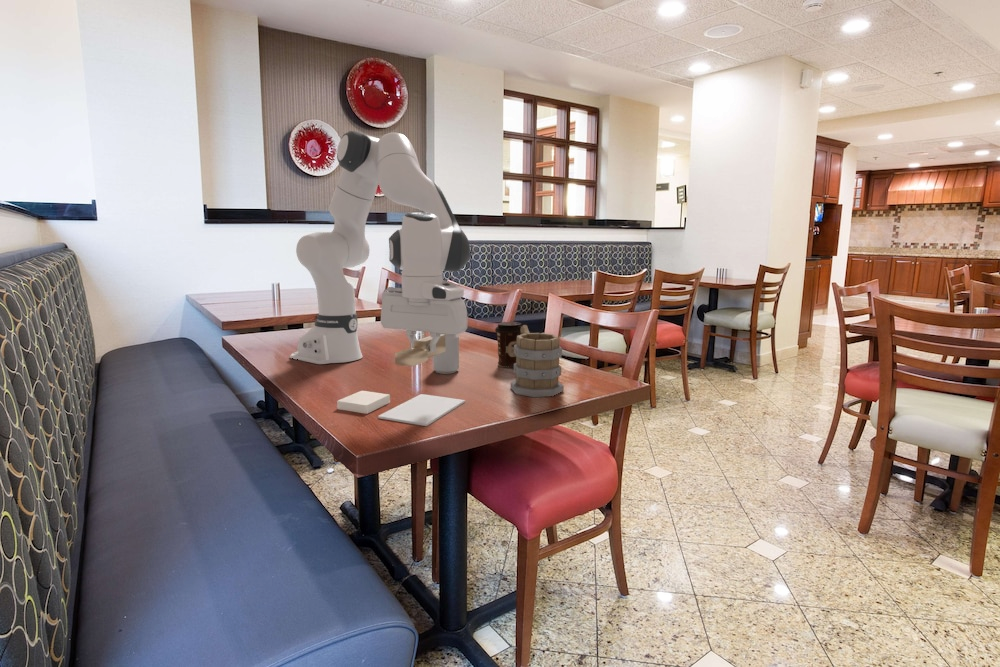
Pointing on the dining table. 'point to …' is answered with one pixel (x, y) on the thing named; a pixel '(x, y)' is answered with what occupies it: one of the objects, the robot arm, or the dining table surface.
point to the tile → (363, 402)
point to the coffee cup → (507, 342)
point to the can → (448, 356)
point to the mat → (422, 409)
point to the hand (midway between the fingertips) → (423, 351)
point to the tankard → (537, 364)
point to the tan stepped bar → (419, 352)
